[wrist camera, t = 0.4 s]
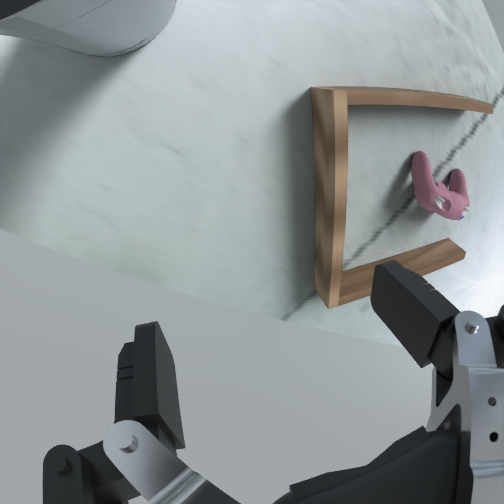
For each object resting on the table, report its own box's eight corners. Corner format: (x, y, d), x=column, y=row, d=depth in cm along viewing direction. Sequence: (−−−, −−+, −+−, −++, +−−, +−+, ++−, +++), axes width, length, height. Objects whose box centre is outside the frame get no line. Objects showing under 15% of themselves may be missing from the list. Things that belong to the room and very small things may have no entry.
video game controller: (394, 172, 32) (419, 220, 28) (416, 145, 28) (446, 193, 24) (440, 188, 35) (463, 230, 31) (460, 167, 31) (486, 209, 28)
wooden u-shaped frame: (310, 87, 23) (333, 90, 20) (469, 97, 26) (493, 104, 23) (314, 287, 36) (328, 309, 32) (446, 244, 39) (463, 258, 36)
